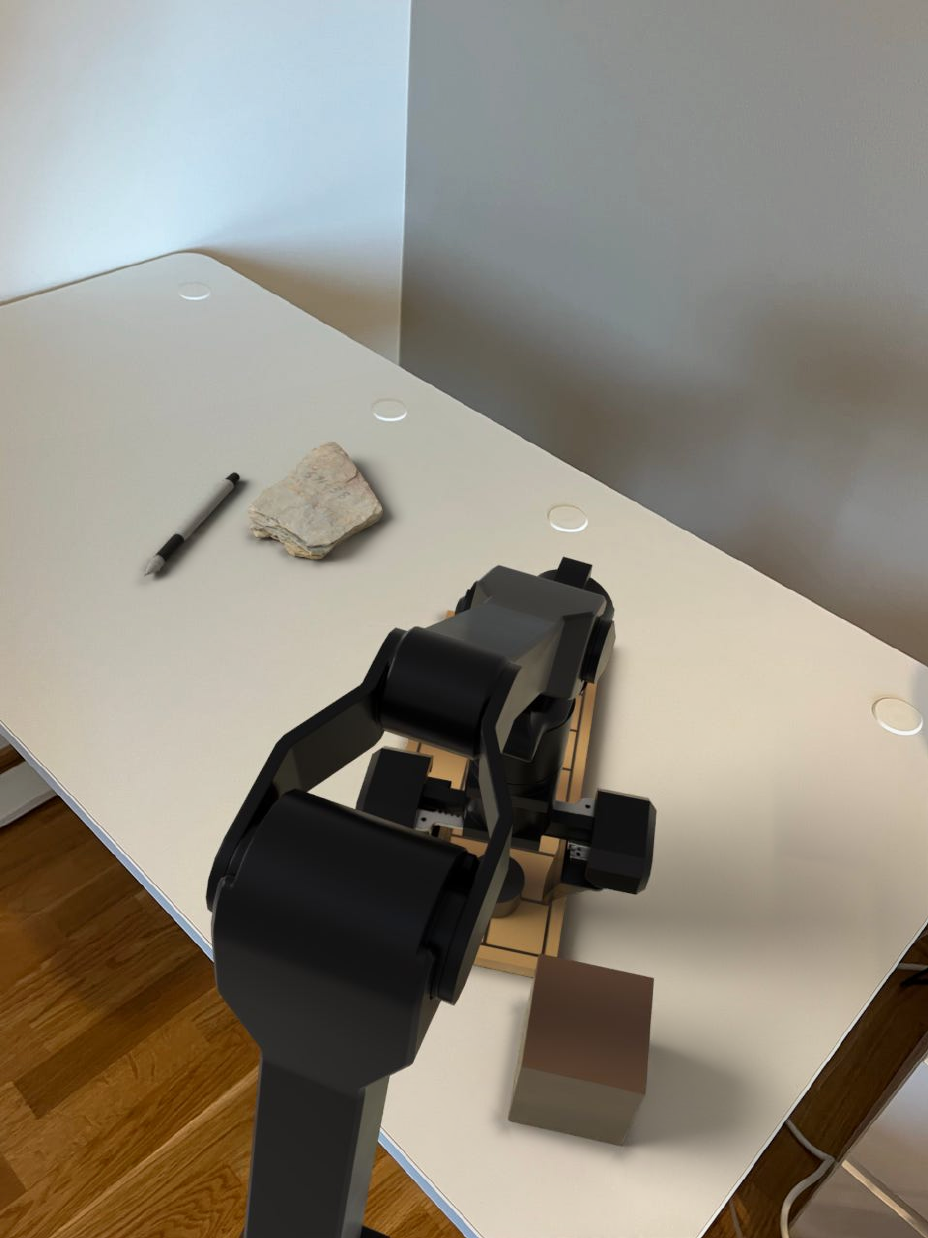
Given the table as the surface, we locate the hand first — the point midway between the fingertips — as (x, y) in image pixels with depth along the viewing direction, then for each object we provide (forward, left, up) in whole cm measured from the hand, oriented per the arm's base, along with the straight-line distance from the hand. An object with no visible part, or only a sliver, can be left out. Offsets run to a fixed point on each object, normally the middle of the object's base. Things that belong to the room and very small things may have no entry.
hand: (494, 886), depth 74 cm
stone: (+38, +25, -2) cm, 46 cm away
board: (+11, +2, -2) cm, 11 cm away
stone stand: (-11, -7, -2) cm, 13 cm away
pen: (+33, +35, -2) cm, 48 cm away
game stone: (0, 0, -1) cm, 1 cm away
